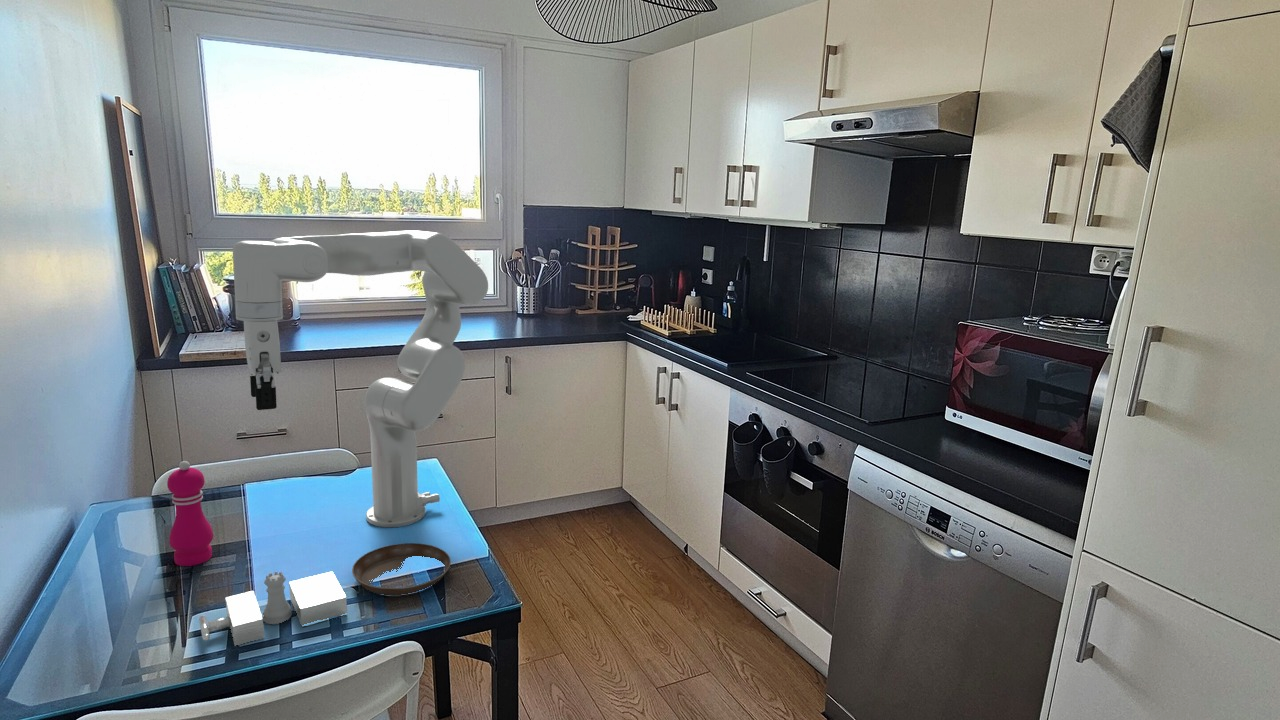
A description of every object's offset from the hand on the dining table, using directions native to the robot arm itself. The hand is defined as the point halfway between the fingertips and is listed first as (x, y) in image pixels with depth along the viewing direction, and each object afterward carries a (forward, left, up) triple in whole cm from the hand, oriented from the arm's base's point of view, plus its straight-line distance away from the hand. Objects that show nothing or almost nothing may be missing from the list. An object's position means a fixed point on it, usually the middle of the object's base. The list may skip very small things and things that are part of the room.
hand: (263, 402), depth 135 cm
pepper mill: (+13, -9, -32) cm, 36 cm away
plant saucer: (-19, +18, -33) cm, 42 cm away
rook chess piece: (+3, +21, -32) cm, 39 cm away
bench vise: (+3, +21, -32) cm, 39 cm away
